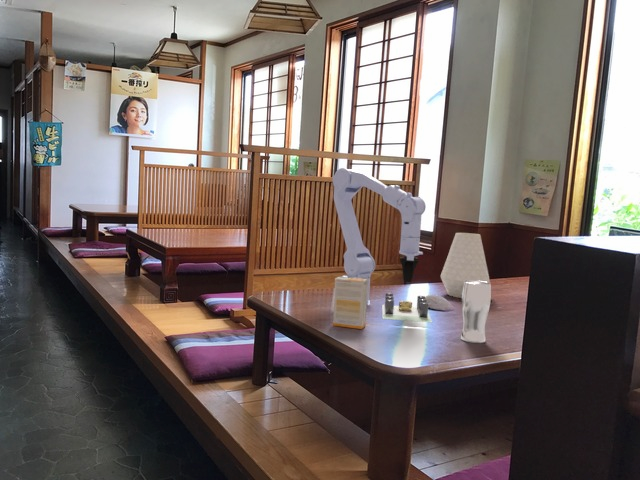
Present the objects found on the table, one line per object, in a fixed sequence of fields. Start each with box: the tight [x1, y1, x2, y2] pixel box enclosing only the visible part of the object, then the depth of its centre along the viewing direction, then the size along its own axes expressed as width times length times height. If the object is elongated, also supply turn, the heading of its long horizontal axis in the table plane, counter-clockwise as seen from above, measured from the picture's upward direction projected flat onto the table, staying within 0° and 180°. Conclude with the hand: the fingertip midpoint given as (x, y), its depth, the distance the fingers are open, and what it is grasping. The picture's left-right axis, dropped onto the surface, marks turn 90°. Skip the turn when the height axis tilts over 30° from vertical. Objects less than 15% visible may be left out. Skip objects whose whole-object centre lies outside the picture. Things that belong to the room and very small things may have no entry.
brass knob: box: [398, 300, 413, 312], centre depth 170 cm, size 4×4×3 cm
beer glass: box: [460, 280, 492, 344], centre depth 140 cm, size 7×7×15 cm
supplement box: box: [332, 275, 368, 330], centre depth 149 cm, size 8×5×13 cm, turn 71°
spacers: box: [384, 292, 429, 318], centre depth 169 cm, size 12×14×4 cm
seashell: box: [425, 294, 455, 312], centre depth 177 cm, size 10×6×10 cm
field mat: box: [381, 304, 433, 323], centre depth 166 cm, size 14×20×1 cm
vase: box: [440, 232, 490, 299], centre depth 203 cm, size 18×17×23 cm
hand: (407, 281), depth 167 cm, fingers closed
